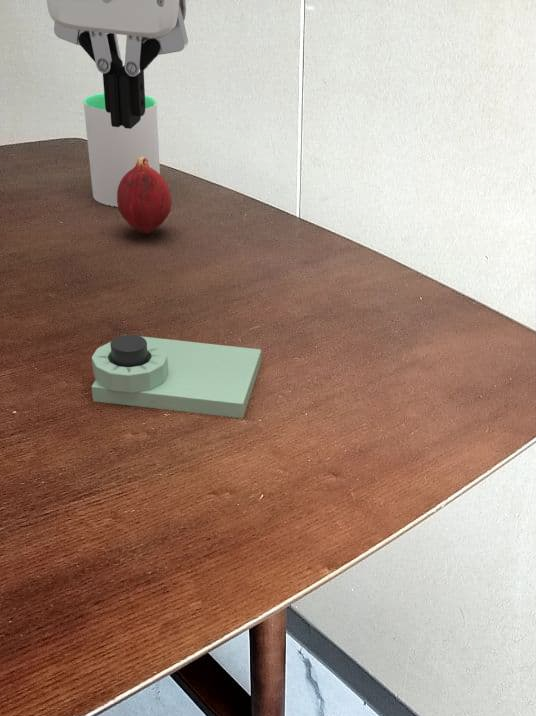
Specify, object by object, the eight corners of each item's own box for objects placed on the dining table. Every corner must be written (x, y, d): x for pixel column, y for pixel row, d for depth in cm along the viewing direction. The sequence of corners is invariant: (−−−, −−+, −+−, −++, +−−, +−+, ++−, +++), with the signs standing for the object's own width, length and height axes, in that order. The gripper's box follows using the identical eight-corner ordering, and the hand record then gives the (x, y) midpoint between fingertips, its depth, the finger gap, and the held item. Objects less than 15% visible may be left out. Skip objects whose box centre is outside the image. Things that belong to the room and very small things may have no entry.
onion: (174, 243, 93) (171, 167, 88) (119, 244, 93) (113, 166, 87) (171, 224, 98) (168, 149, 93) (119, 224, 97) (113, 149, 92)
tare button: (107, 367, 67) (105, 349, 66) (117, 350, 69) (116, 332, 68) (142, 371, 67) (141, 353, 66) (151, 354, 69) (150, 336, 68)
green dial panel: (87, 403, 68) (82, 369, 66) (120, 348, 75) (117, 316, 73) (242, 421, 67) (242, 387, 65) (261, 363, 74) (262, 331, 72)
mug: (90, 174, 109) (81, 83, 102) (154, 173, 111) (149, 83, 104) (94, 208, 100) (84, 110, 93) (164, 206, 102) (159, 110, 95)
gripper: (-14, -161, 59) (24, 125, 71) (198, -142, 58) (201, 146, 70) (29, -163, 65) (58, 103, 77) (224, -145, 64) (222, 122, 76)
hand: (126, 123), depth 73 cm, fingers closed
